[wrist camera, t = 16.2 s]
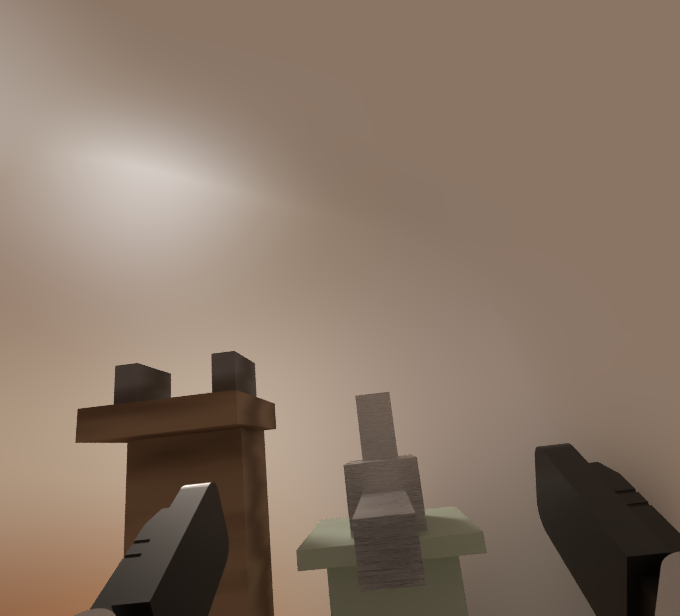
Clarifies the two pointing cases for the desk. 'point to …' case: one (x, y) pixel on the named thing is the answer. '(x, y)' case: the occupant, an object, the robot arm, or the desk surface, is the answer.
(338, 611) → the green flanged bracket
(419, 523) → the grey stepped block
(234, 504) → the wooden pedestal post
